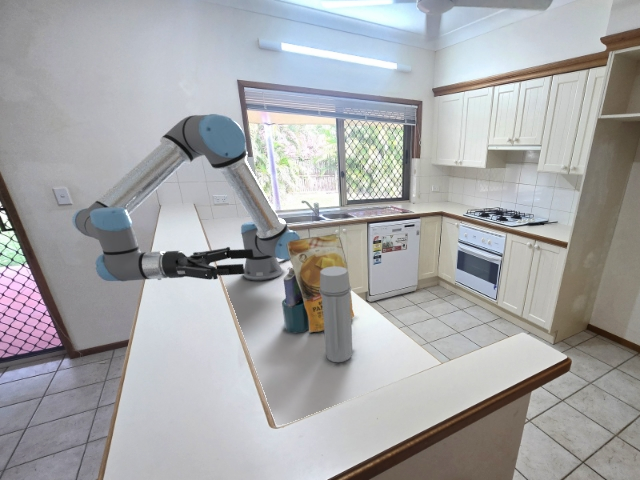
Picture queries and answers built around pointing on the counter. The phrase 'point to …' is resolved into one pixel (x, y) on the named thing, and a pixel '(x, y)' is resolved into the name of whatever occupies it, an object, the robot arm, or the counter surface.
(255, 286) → the counter surface
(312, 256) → the pancake mix bag
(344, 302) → the water bottle
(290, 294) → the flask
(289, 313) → the coffee cup
